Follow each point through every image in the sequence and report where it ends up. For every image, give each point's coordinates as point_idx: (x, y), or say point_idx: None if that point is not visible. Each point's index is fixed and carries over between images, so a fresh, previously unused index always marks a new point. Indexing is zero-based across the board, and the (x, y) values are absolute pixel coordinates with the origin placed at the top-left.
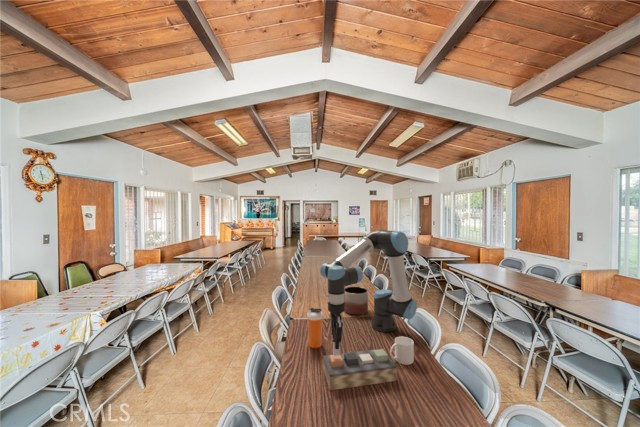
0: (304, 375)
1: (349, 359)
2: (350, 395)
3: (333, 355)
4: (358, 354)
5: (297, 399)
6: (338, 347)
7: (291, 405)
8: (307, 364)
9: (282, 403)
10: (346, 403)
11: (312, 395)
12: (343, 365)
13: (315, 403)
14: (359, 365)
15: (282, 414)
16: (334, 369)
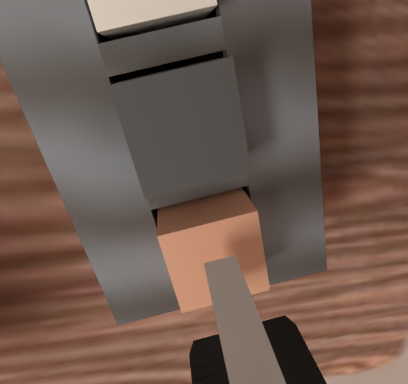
0: (182, 334)
1: (246, 154)
2: (334, 125)
3: (183, 285)
4: (47, 29)
5: (323, 330)
6: (300, 336)
7: (347, 341)
8: (93, 337)
9: (333, 366)
10: (379, 148)
11: (310, 287)
12: (236, 188)
13: (353, 272)
14: (239, 48)
15: (378, 355)
16: (278, 247)
